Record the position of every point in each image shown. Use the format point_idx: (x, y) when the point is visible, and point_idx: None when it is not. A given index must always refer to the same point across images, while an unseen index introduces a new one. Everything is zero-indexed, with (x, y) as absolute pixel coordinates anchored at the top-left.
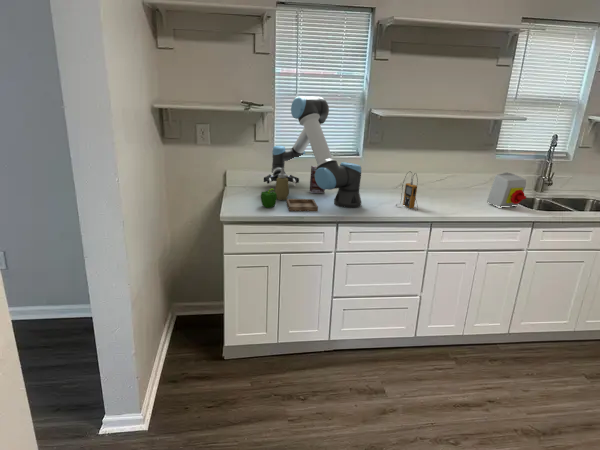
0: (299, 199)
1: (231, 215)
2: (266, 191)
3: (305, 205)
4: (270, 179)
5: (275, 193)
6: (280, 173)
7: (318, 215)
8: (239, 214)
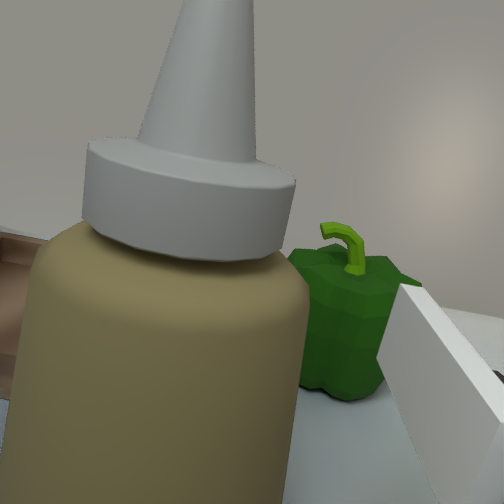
0: (3, 341)
1: (497, 320)
2: (384, 282)
3: (3, 318)
4: (438, 325)
5: (298, 249)
6: (253, 145)
7: (43, 239)
8: (466, 321)
